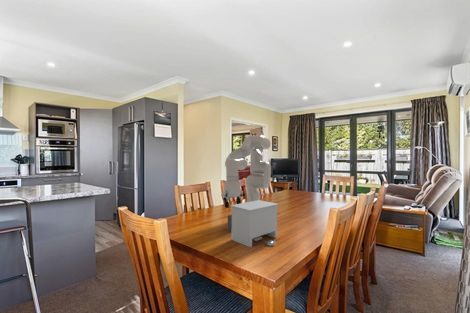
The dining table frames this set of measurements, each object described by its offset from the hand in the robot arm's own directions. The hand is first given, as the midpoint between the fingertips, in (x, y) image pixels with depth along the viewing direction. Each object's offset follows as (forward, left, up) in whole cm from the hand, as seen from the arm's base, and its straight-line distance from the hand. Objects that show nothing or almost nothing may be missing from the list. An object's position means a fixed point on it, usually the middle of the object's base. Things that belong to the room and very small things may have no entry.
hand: (232, 206), depth 144 cm
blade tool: (+1, +10, -15) cm, 18 cm away
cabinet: (+1, +19, -15) cm, 24 cm away
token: (+1, +31, -15) cm, 34 cm away
